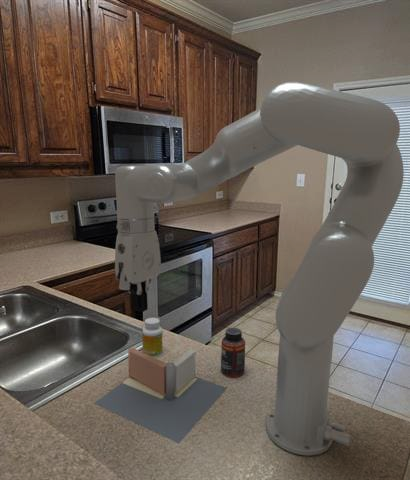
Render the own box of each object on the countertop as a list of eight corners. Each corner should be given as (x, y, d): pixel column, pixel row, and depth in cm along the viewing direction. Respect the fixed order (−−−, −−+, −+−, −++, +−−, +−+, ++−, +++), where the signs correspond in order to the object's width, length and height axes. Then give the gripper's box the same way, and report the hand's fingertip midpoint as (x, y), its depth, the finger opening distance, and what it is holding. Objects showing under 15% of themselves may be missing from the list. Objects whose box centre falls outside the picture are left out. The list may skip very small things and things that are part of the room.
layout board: (227, 389, 82) (228, 356, 80) (178, 445, 65) (179, 404, 63) (152, 362, 93) (151, 333, 91) (93, 404, 76) (92, 368, 74)
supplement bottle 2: (247, 369, 90) (249, 328, 88) (239, 381, 85) (241, 338, 83) (225, 364, 93) (227, 323, 91) (216, 375, 87) (218, 333, 85)
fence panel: (168, 391, 79) (168, 364, 78) (163, 394, 78) (163, 367, 77) (132, 372, 86) (131, 347, 85) (127, 375, 85) (126, 349, 84)
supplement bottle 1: (158, 359, 94) (158, 325, 93) (139, 357, 95) (139, 323, 94) (164, 350, 100) (164, 317, 98) (146, 347, 101) (146, 315, 99)
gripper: (125, 232, 65) (130, 326, 68) (171, 223, 78) (173, 302, 81) (96, 229, 69) (101, 318, 72) (144, 221, 82) (147, 297, 85)
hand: (139, 309), depth 77 cm, fingers closed
